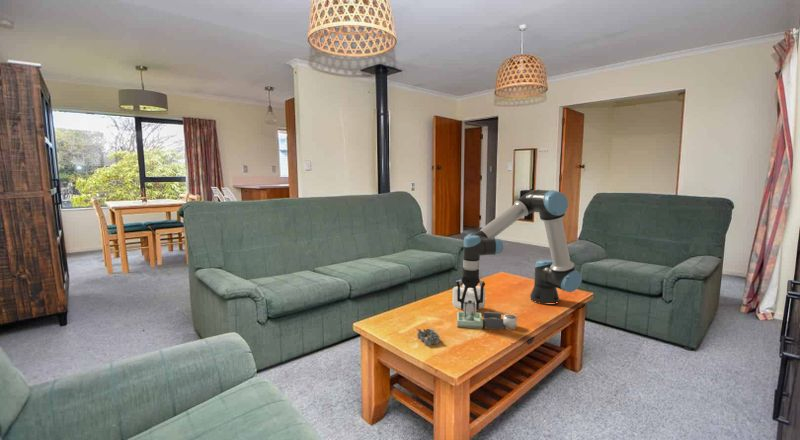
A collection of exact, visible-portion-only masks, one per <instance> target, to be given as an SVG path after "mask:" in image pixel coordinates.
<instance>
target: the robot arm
mask: <svg viewBox="0 0 800 440" xmlns="http://www.w3.org/2000/svg"><path fill="white" fill-rule="evenodd" d="M568 201H569V200H568V198H567V196H566V195H565V194H564V193H563V192H561V191H557V190H553V189H552V190H545V189H535V190H531V191H528V192H526V193H525V194H523V195H522V196H521V197H519V198H518V199H517V200H515V201H514V202H513V205H511V206H510V207H509V208H507V209H506V210H504V211H503V212H502V213H501V214H499V215H498V216H497V217H496V218H494V219H493V220H491V221H490V222H489V223H487V224H486V225H485V226H483V227H482V228H481V229H479V230H478V231H476V232H475V233H468V234H467V235H466V236H464V239H463V246H462V247H463V251H462V252H463V254H462V255H463V258H462V267H463V268H462V277H461V279H459V280H458V279H456V281H455V283H456V287H458V289H457V301H458V302H461V309H460V310H462V312H463V317H465V302H464V300H465V296H466V292H467V289H468V288H473V289H474V294H475V299H476V302H475V310H474V317H476V313H477V311H479V303H483V290H484V289H485V286H486V282H485V281H482V280H480V261H481V260H480V259H481V256H493V255H495V256H496V255H500V254H502V253H503V251H504V243H503V241H502V239H500V238H496V237H497V236H499V235H501V234H502V232H504V231H505V230H506V229H508V228H509V227H510V226H512V225H513V224H514V223H516V222H517V221H518V220H519V219H521V218H522V217H527V216H528V215H530V214H532V213H539V214H538V215H539V219H540V221H542V222H544V228H545V232H546V237H547V242H548V246H549V252H550V255H551V257H550V258H551V259H539V260H536V262H535V266H534V281H533V282H534V283H533V284H534V285H533V288H532V290H531V293H530V297H529V299H530V298H531V299H530V300H531V301H532V300H533V301H536V302H540V303H556V302H558V301H559V302H560V296H559V292H558V290H557V289H559V290H562V291H564V292H567V293H572V292H575V291H576V290H577V289H578V288H579V287H580V285H581V284H582V281H583V276H582V274H581V272H580V271H578V270H576V267H575V266H576V265H575V263H574V262H573V261H571V257H570V252H569V247H568V243H567V237H566V232H565V225H564V221H563V218H564V217H565V215H566V214H565V213H566V212H567V211H568V207H569V202H568ZM463 284H464V285H465V287H464V291H463V295H462V298H461V299H460V287H461V286H462V285H463ZM476 286H479V287H481V288H480V300H478V296H477V291H476ZM533 301H532V302H533ZM536 302H535V303H536ZM476 310H477V311H476Z"/></svg>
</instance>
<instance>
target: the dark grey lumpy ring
mask: <svg viewBox="0 0 800 440" xmlns="http://www.w3.org/2000/svg"><path fill="white" fill-rule="evenodd" d="M416 330H417V331H418V332H417V334H416V336H417V338H418V339H420V342H422V343H423V344H424V346H428V347H430V346H432V345H439V343H440V337H441V335H440V334H438V332H436V331H435V330H434V329H433V328H426V329H424V328H423V329H422V330H421V328H416Z"/></svg>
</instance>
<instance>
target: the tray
mask: <svg viewBox="0 0 800 440" xmlns="http://www.w3.org/2000/svg"><path fill="white" fill-rule="evenodd" d="M464 318H465V317H463V311H456V325H457V328H467V329H482V330H483V327H484V319H483V317H482V312H476V317H474V321H464Z"/></svg>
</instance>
